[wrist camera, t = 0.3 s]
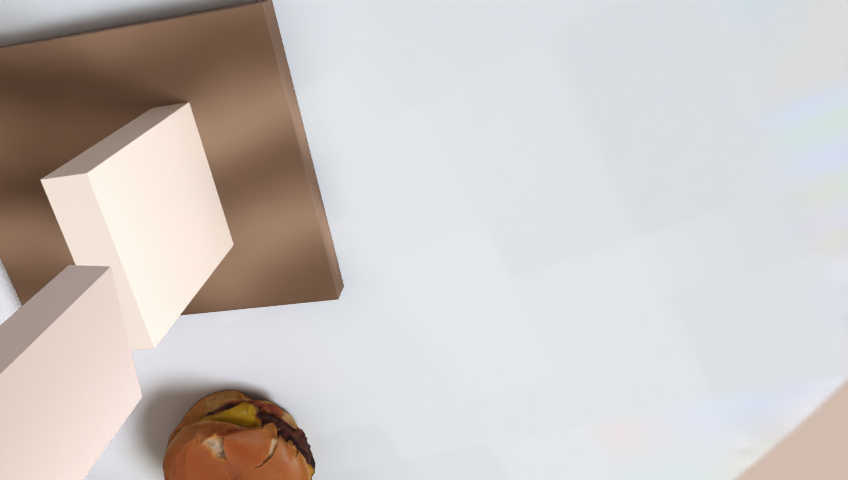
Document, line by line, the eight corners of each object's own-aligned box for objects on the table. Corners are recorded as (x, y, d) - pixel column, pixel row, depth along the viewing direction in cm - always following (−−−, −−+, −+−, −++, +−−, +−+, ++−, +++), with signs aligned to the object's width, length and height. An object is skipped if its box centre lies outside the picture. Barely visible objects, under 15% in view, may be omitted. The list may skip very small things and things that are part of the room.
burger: (228, 514, 52) (203, 569, 48) (151, 414, 49) (118, 464, 45) (350, 475, 50) (335, 530, 45) (277, 366, 46) (254, 415, 42)
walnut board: (-68, 58, 40) (-89, 65, 38) (271, -1, 36) (262, 3, 35) (47, 316, 46) (33, 330, 45) (343, 285, 43) (338, 299, 42)
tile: (151, 107, 38) (39, 179, 29) (189, 102, 38) (86, 173, 29) (198, 248, 41) (111, 352, 32) (233, 244, 41) (154, 348, 32)
